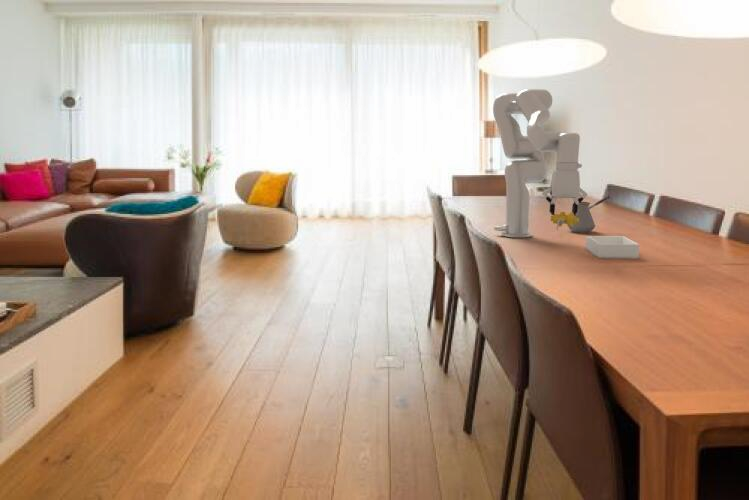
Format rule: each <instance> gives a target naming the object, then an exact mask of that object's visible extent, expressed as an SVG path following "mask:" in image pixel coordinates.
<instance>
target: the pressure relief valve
mask: <svg viewBox="0 0 749 500" xmlns="http://www.w3.org/2000/svg"><path fill="white" fill-rule="evenodd" d="M550 222H552V223H553V224H556V231H559V230H558V228H559V227H560V228H561V227H562V226H563V225H564V224H565V225H566V226H567V227H568V228H569V227H572V226H573V224H574V223H576V222H577V223H579V218H576V217H575V216H574V213H572V211H570V212H569V213H568V214H566V211H560V212H559V213H554V215H550Z"/></svg>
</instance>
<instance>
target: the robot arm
mask: <svg viewBox="0 0 749 500" xmlns="http://www.w3.org/2000/svg"><path fill="white" fill-rule="evenodd" d="M552 105H553V96H552V93H551V92H550V91H548V90H546V89H543V88H542V89H540V88H539V89H538V88H532V89H531V88H527V89H523V90H521V91H519V92H517V93H516V92H515V93H514V92H509V93H508V92H507V93H501V94H499V95H497V96H496V98H495V99H494V101H493V106H492V112H493V117H494V118H493V119H494V121H495V123H496V125H497V128H498V130H499V134H500V135H499V136H500V140H501V144H502V148H503V149H502V150H503V152H504V153H503V154H504V155H505V157H506V158H508V159H511V161H510V162H507V164H505V168H504V180H505V186H506V196H505V197H506V198H505V199H506V201H505V223H504V224H503V225H500V226H499V225H494V226H493V231H494V232H495V231H496V232H497V231H498V232H501V236H503V237H507V238H514V239H515V238H519V239H520V238H523V239H524V238H531V237H532V235H533V234H532V232H531V231H529V219H530V218H529V216H530V198H531V197H530V195H531V194H530V191H529V189H528V187H527V185H526V184H535V183H542V182H543V181H544V180H545V179H546V178H547V177H546V176H547V166H546V165H547V164H546V159H545V156H544V153H546V152H547V153H550V152H551V153H552V152H554V153H555V152H556V165H555V169H554V170H553V171H552V175H551V181H550V187H548V188H547V189H546V190H544V191H543V192H542V193H541V195H542V196H543V197H544V199H545V200H546V201H547V202H548V203H549V213H550V215H551V216H553V215H554V214H556V213H555V209H556V204H555V202H556V200H557V199H558V198H559V199H572V201H573V203H572V208H571V209H572V210H571V212H572V213H574V215H576V213H577V210H578V205H579V203H580V202H583V200H584V199H585V198H586V197H587V196H588V193H587V192H585V190H583V188H581V187H580V186H581V180H580V179H581V178H580V171H579V169H580V168H582V166H583V165H582V163H579V153H580V152H579V151H580V142H581V141H580V140H581V139H580V138H581V137H580V134H579V133H577V132H567V131H558V130H557V131H556V130H555V131H554V130H553V131H548V130H547V131H543V130H542V129H541V127H542V126H544V125H546V124H547V122H548V121H549V119H550V117H551V113H550V110H549V109H551V108H552ZM513 114H514V115H523V116H524V117H525V120H527V122H528V123H527V127H526V135H525V136H524V135H523V134H522V131H521V127H520V124H519V122H518V121H517V119H516V118H514V116H513ZM548 194H549V195H550V196H551V197H550V196H549V195H548ZM580 194H581V195H580Z"/></svg>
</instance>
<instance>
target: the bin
mask: <svg viewBox="0 0 749 500" xmlns="http://www.w3.org/2000/svg"><path fill="white" fill-rule="evenodd" d="M585 250H586V251H588V252H589V253H590V254H592V255H593V256H595V257H596V258H598V259H607V260H609V259H616V260H617V259H619V260H621V259H622V260H623V259H625V260H626V259H627V260H628V259H629V260H630V259H633V260H639V258H640V257H639V254H640V243H637V242H636V241H633V240H632V239H630V238H628V237H627V236H624V235H586V236H585Z"/></svg>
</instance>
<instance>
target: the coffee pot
mask: <svg viewBox="0 0 749 500" xmlns="http://www.w3.org/2000/svg"><path fill="white" fill-rule="evenodd" d="M609 198H610V199H609ZM612 199H613V198H612V197H611V196H610V195H608V196H606V197H603V199H600V200H599V201H597V202H595V203H594V204H592V205H591V202H587V201H581V202H580V203H579V205H578V210H577V213H576V215H574V216H575V217H576V218H579V223H577V222H576V223H574V224H573V226H572V227H568V229H569V230H571V232H572V233H575V234H576V233H578V234H587V233H588V234H589V233H591V231H594V229H595V228H596V224H595V221H594V219H593V216H592V213H591V209H592V208H594V207H596V206H598V205H600V204H602V203H604V201H607V200H609V201H612Z"/></svg>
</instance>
